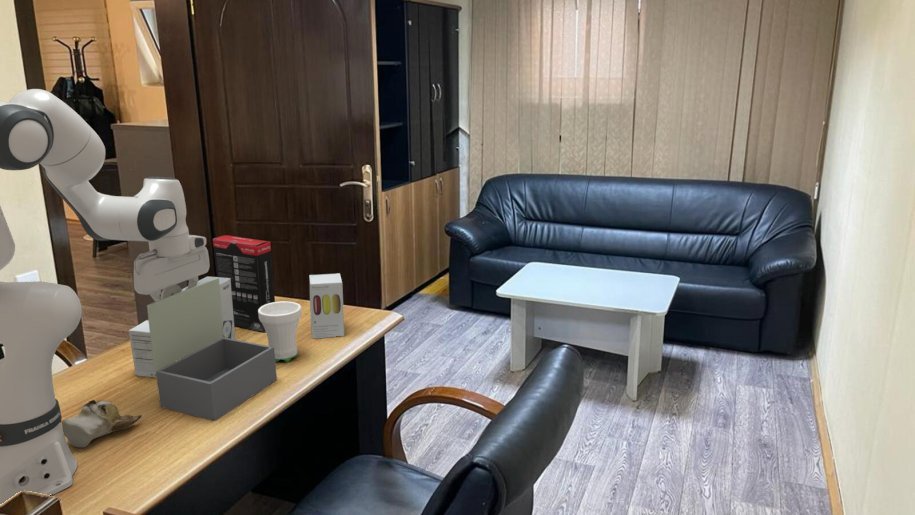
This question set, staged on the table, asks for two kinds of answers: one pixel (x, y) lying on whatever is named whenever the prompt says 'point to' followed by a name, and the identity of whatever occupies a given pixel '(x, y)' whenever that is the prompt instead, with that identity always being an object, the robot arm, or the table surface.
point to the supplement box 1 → (142, 350)
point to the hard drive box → (224, 305)
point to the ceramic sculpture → (95, 422)
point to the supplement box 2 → (326, 305)
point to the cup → (281, 327)
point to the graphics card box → (246, 276)
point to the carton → (216, 378)
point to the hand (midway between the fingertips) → (176, 301)
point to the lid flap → (184, 321)
